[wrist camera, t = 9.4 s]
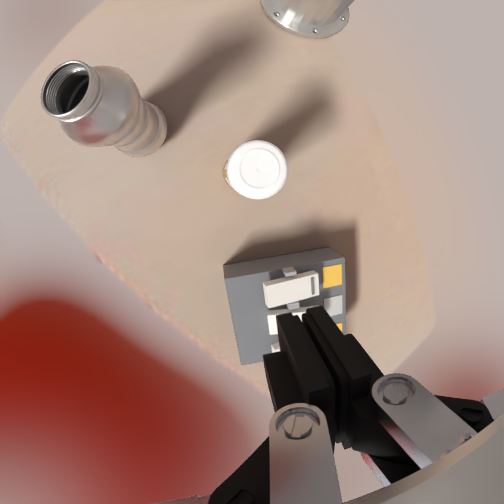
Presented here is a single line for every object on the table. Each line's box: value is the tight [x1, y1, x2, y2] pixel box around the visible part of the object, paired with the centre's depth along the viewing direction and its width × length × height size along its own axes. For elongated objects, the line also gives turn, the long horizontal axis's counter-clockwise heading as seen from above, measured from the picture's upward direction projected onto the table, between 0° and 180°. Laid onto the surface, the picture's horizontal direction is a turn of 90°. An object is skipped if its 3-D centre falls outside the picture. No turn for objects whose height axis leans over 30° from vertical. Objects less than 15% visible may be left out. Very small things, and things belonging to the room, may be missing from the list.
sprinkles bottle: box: [223, 140, 288, 199], centre depth 27 cm, size 5×5×14 cm
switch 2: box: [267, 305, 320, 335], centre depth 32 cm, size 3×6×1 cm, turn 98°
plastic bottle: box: [41, 60, 167, 157], centre depth 21 cm, size 6×7×20 cm
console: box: [223, 247, 346, 365], centre depth 35 cm, size 12×14×7 cm
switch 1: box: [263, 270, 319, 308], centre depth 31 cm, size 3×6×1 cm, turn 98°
